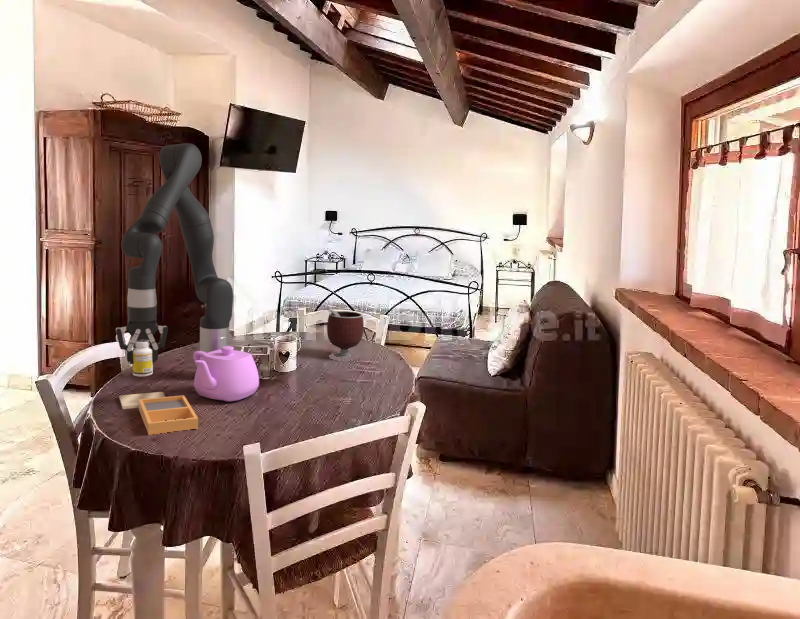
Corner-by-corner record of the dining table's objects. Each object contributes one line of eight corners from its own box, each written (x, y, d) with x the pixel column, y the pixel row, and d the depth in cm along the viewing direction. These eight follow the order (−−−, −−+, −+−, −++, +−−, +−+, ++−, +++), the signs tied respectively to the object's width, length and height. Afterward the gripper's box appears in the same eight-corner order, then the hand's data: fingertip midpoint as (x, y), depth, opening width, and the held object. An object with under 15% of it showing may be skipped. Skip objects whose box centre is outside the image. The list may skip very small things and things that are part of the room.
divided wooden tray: (184, 405, 182) (184, 395, 181) (198, 429, 164) (198, 418, 164) (138, 409, 176) (138, 399, 175) (148, 435, 159) (148, 423, 158)
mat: (162, 394, 190) (162, 391, 190) (168, 404, 181) (168, 401, 181) (119, 398, 184) (119, 395, 184) (122, 409, 176) (122, 406, 176)
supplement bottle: (135, 371, 184) (135, 338, 182) (155, 372, 184) (155, 339, 183) (129, 376, 179) (129, 342, 177) (149, 377, 179) (149, 343, 178)
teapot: (211, 382, 205) (211, 336, 202) (266, 392, 197) (267, 345, 195) (160, 401, 184) (159, 350, 181) (220, 414, 176) (220, 361, 174)
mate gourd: (347, 351, 255) (349, 302, 251) (369, 359, 245) (371, 308, 241) (315, 356, 244) (317, 305, 241) (336, 364, 234) (339, 311, 231)
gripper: (167, 301, 185) (167, 357, 188) (112, 302, 178) (113, 361, 181) (171, 305, 178) (171, 364, 181) (115, 307, 172) (115, 367, 174)
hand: (142, 362), depth 181 cm, fingers closed on supplement bottle, 5 cm apart
